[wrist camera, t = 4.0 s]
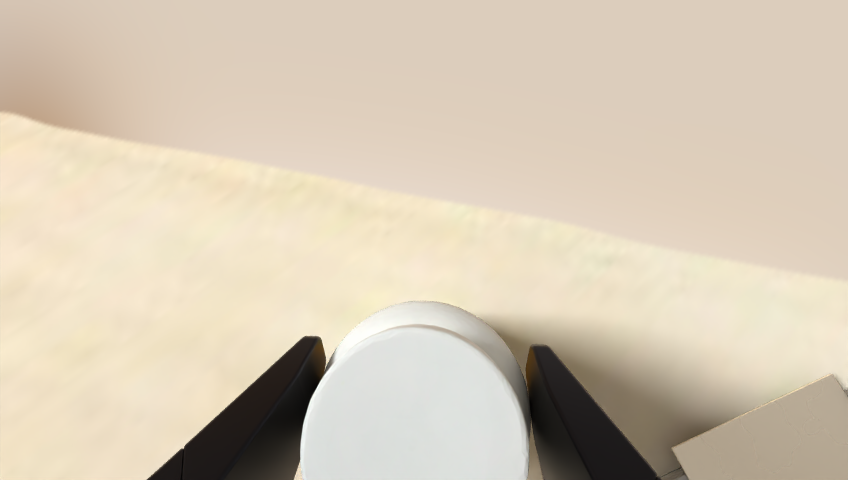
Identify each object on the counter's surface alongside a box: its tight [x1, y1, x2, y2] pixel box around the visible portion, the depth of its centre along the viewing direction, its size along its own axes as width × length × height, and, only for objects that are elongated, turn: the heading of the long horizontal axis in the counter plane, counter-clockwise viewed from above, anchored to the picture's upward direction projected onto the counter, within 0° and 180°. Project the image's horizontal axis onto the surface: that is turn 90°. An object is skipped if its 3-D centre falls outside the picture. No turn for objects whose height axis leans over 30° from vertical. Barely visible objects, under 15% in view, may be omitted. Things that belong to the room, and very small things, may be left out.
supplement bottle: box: [300, 301, 531, 480], centre depth 11 cm, size 5×5×10 cm
